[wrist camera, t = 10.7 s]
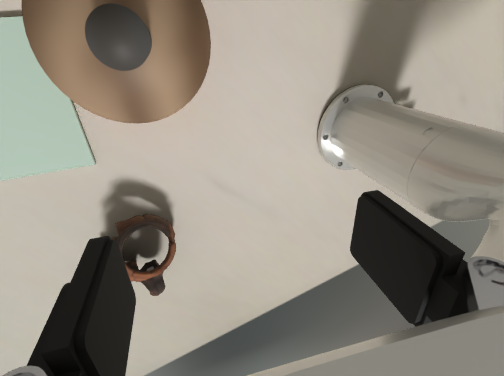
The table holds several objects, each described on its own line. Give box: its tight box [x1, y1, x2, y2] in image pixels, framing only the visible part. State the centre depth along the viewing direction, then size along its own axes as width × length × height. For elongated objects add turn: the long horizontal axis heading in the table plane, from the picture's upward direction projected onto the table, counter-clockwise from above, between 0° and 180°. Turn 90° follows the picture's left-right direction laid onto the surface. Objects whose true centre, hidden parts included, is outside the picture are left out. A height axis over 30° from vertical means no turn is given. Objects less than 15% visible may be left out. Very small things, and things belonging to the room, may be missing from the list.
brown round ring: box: [111, 214, 176, 296], centre depth 38 cm, size 12×10×8 cm
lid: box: [22, 0, 211, 123], centre depth 21 cm, size 14×14×6 cm
